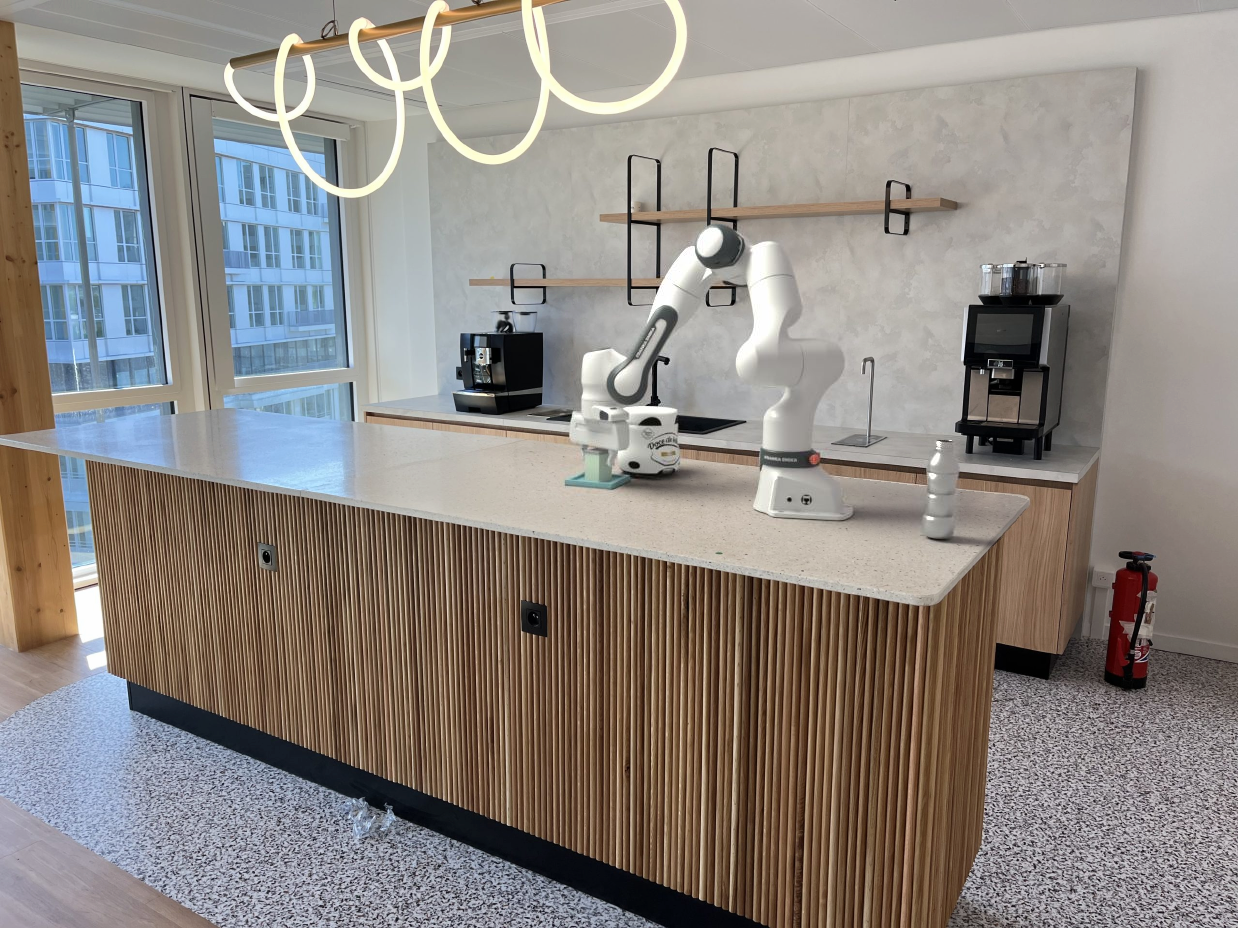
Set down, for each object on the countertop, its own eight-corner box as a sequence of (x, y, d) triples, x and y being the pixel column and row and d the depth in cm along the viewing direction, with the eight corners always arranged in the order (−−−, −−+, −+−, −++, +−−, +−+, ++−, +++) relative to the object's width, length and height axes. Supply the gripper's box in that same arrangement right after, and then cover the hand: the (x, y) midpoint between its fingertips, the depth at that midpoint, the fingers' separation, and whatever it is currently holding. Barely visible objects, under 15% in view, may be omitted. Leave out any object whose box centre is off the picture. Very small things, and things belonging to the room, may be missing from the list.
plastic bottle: (916, 539, 180) (923, 441, 177) (925, 532, 186) (932, 437, 182) (949, 543, 177) (957, 444, 173) (957, 536, 182) (965, 440, 179)
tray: (629, 480, 237) (629, 475, 237) (611, 489, 225) (611, 484, 225) (585, 476, 242) (585, 471, 241) (564, 485, 230) (564, 479, 229)
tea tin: (612, 480, 233) (612, 449, 232) (598, 483, 230) (599, 452, 228) (597, 477, 237) (597, 447, 235) (584, 480, 233) (584, 449, 232)
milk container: (673, 482, 236) (674, 414, 232) (610, 478, 240) (610, 411, 237) (685, 470, 252) (687, 407, 249) (626, 467, 256) (627, 404, 253)
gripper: (563, 408, 235) (563, 459, 238) (615, 415, 221) (614, 470, 223) (582, 406, 240) (581, 457, 242) (633, 413, 225) (633, 467, 227)
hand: (598, 463), depth 232 cm, fingers open, 8 cm apart
